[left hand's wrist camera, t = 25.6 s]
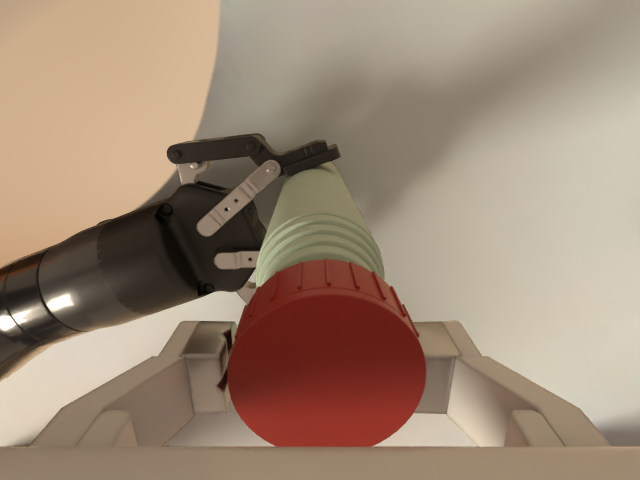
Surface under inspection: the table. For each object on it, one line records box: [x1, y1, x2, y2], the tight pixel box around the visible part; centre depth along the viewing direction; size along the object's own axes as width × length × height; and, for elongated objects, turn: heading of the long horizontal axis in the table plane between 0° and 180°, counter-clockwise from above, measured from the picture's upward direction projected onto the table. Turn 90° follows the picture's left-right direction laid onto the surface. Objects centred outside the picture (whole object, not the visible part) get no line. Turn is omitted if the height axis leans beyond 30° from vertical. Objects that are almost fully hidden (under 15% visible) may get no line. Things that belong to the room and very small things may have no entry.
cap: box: [227, 258, 427, 447], centre depth 9 cm, size 5×5×2 cm
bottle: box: [256, 162, 384, 287], centre depth 20 cm, size 5×5×23 cm
